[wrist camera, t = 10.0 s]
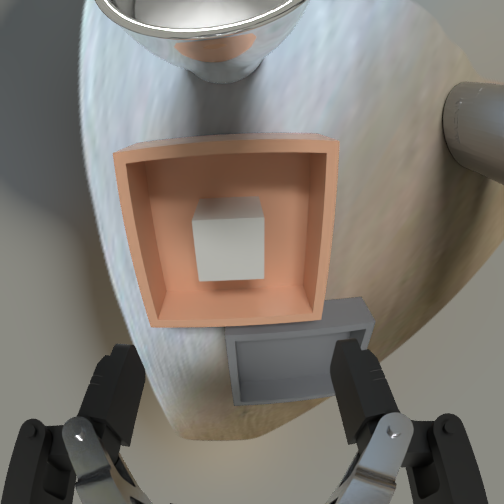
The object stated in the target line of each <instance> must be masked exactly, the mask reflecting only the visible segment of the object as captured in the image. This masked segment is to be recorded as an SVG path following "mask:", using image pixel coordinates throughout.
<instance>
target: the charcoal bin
mask: <svg viewBox="0 0 504 504" xmlns="http://www.w3.org/2000/svg"><path fill="white" fill-rule="evenodd" d="M375 322H376V321H375V320H374V318H373V316H372V314H371V313H370V311H369V309H368V307H367V306H366V304H365V302H364V300H363V299H362V297H355V298H345V299H335V300H324V305H323V312H322V318H321V320H314V321H303V322H291V323H278V324H263V325H245V326H225V340H226V348H227V356H228V364H229V372H230V379H231V387H232V394H233V401H234V406H239V405H258V404H271V403H282V402H292V401H301V400H309V399H316V398H323V397H329V396H335V391H334V387H333V384H332V380H331V376H330V364H331V360H332V356H333V352H334V348H335V344H336V341H337V340H344V339H352V338H356V339H357V341H358V343H359V345H360V348H361V350H366V349H367V346H368V343H369V340H370V337H371V334H372V331H373V328H374V325H375Z"/></svg>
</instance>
